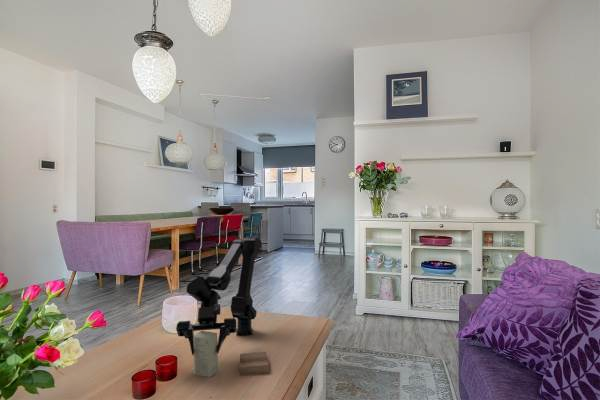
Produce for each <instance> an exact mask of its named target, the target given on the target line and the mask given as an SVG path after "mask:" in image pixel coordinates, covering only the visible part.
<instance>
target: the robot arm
mask: <svg viewBox="0 0 600 400" xmlns="http://www.w3.org/2000/svg"><path fill="white" fill-rule="evenodd" d="M261 247H262V241H261V240H260V238H259V237H255V236H254V237H251V236H245V237H244V236H243V238H242V239H241V238H240V239H234V240H232V243H231V246H230V248H229V249H228V251H227V253H226V254H225V256H224V258H223V259H222V260H221V262H220V264H219V266H217V267H216V268H214V269H212V271H210V273H209V274H208V276H207V277H204V276H201V275H200V276H199V275H197V276H196V278H194V279H193V280H191V281H190V282H189V283H188V284H187V286H186V293H187V294H188V295H189V296H191V297H192V298H193V299H194V300H196V301H197V302H200V307H198V311H197V313H198V314H197V322H198V323H195V324H194V323H193V324H192V323H191V320H180V321H178V322H177V324H176V326H175V327H176V328H175V330H176V333H177V336H178V337H180V338H181V337H184V339H188V342H189V346H190V351H191V355H192V356H194V335H195V334H194V331H195V332H196V331H197V332H199V331H210V330H213V331H214V330H219V335H218V338H217V353H218V354H219V353H220V350H221V348H222V345H223V343H224V341H225V340H226V339H227V337H228V336H230V335H231V334H233V333H234V334H236V336H248V335H249V336H250V335H253V332H254V331H253V327H252V320H256V317H257V313H258V312H257V310H256V309H255V307H254V306H253V303H254V301H253V298H252V295H251V289H252V288H251V287H252V280H253V273H254V267H255V259H256V258H257V256H258V255H260V252H261V251H260V250H261ZM241 256H242V261H241V262H242V263H241V270H240V276H239V283H238V289H237V292H236V294H235V296H232V298H231V302H230V312H231V316H232V317H229V318H226V317H225V318H224V319H223V322H218V316H219V315H221V304H220V303H219V300H221V295H220V294H219V293H218V291H223V292H224V291H226V290H227V288H228V287H229V285H230V282H231V279H232V276H231V275H232V274H231V273H232V271H233V269H234V267H235V266H236V264H237V263H238V261H239V259H240V257H241Z"/></svg>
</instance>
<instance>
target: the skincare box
mask: <svg viewBox="0 0 600 400" xmlns="http://www.w3.org/2000/svg"><path fill="white" fill-rule="evenodd" d="M217 345H218V332H213V331H206V330H200V332H199V331H198V333H196V334H194V355H193V363H194V364H193V367H194V369H193V370H194V375H197V376H200V377H201V376H202V377H207V378H212V377H213V376H214V375H216V373H217V372H218V371H219V359H218V358H219V353H217Z"/></svg>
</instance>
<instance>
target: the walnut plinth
mask: <svg viewBox="0 0 600 400" xmlns="http://www.w3.org/2000/svg"><path fill="white" fill-rule="evenodd" d="M269 367H270V365H269V358H268V353H267V351H260V352H250V353H239V376H247V375H248V376H250V375H259V374H260V375H261V374H268V373H269Z"/></svg>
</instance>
